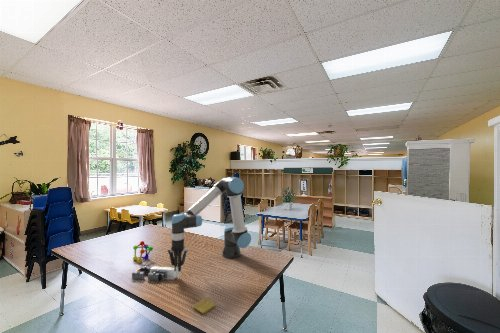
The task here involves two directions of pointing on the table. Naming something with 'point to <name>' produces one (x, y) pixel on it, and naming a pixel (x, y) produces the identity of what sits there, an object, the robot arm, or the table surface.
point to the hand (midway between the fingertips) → (177, 276)
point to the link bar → (165, 272)
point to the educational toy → (142, 252)
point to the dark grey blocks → (141, 272)
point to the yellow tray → (204, 305)
